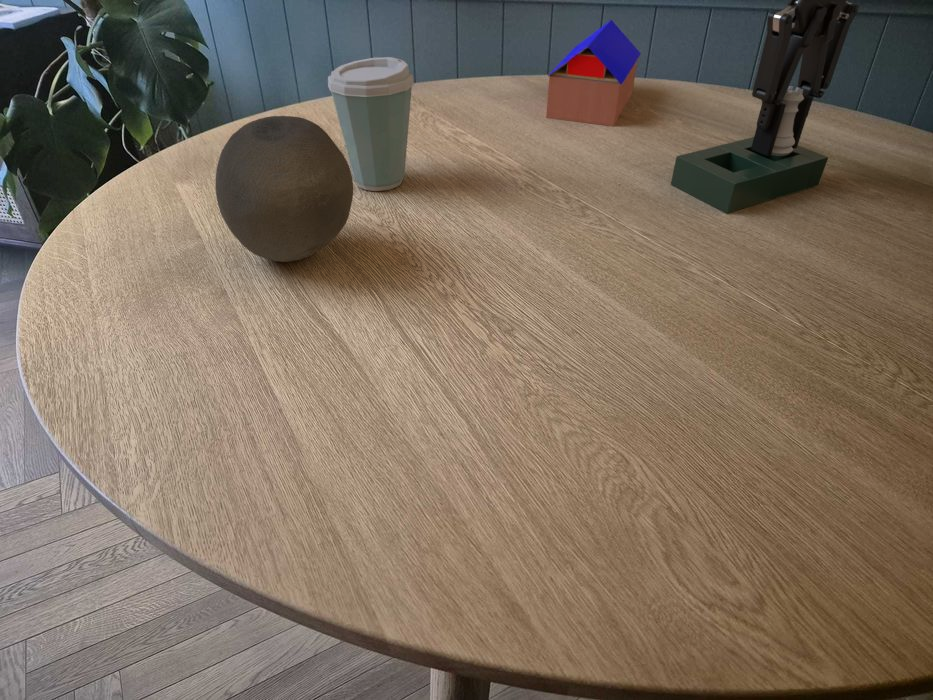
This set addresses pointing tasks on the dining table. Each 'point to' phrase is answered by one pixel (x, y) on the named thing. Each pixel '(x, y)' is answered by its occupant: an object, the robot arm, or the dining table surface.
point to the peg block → (745, 174)
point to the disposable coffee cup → (374, 118)
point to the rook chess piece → (787, 123)
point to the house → (594, 79)
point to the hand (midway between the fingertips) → (773, 148)
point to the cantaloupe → (283, 187)
